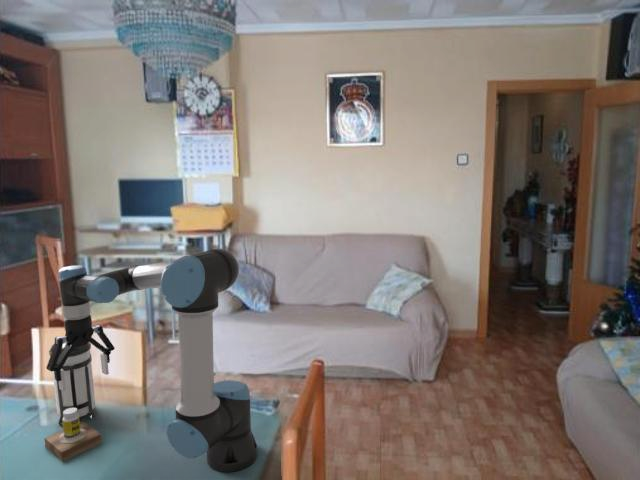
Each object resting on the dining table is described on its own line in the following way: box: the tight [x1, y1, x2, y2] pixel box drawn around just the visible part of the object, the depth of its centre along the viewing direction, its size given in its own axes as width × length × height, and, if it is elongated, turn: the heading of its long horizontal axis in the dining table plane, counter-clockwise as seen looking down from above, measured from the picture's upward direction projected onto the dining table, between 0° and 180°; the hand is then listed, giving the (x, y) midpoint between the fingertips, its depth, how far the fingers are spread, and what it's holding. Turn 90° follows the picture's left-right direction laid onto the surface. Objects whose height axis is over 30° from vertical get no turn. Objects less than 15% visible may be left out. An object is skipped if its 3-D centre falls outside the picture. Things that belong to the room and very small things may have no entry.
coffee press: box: [48, 340, 96, 426], centre depth 168 cm, size 17×16×30 cm
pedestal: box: [43, 421, 103, 462], centre depth 154 cm, size 12×12×3 cm
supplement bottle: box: [62, 408, 81, 439], centre depth 153 cm, size 5×5×8 cm
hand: (84, 381), depth 153 cm, fingers open, 13 cm apart
